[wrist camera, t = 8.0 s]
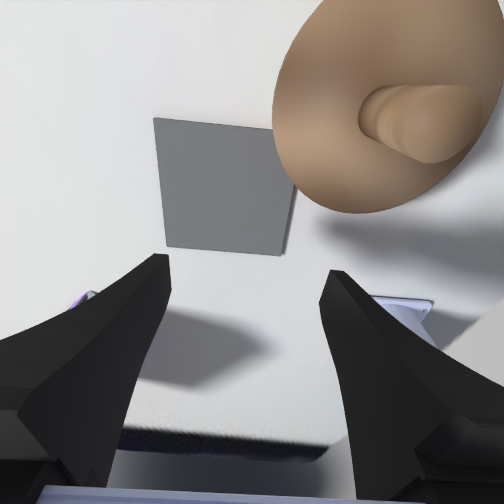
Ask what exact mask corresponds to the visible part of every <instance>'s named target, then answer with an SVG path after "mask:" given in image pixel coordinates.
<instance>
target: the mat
mask: <svg viewBox="0 0 504 504" xmlns="http://www.w3.org/2000/svg"><path fill="white" fill-rule="evenodd" d="M153 122H154V132H155V141H156V150H157V160H158V169H159V179H160V188H161V198H162V207H163V217H164V226H165V236H166V245H167V247H175V248H187V249H199V250H211V251H223V252H235V253H247V254H260V255H272V256H281V252H282V246H283V241H284V236H285V230H286V225H287V219H288V214H289V209H290V203H291V198H292V193H293V187H294V183H293V182H292V180H291V179H290V178H289V176H288V175H287V173H286V171H285V169H284V167H283V165H282V163H281V160H280V157H279V154H278V152H277V149H276V144H275V140H274V135H273V130H270V129H261V128H251V127H241V126H232V125H222V124H212V123H203V122H193V121H183V120H174V119H164V118H153Z"/></svg>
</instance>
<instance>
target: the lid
mask: <svg viewBox="0 0 504 504" xmlns="http://www.w3.org/2000/svg"><path fill="white" fill-rule="evenodd" d="M503 78H504V18H503V14H502V11H501V9H500V6H499V4H498V1H497V0H324V1H323V2H322V3H321V4H320V5H319V6H318V7H317V8H316V10H315V11H314V12H313V13H312V15H311V16H310V17H309V18H308V20H307V21H306V22H305V23H304V25H303V26H302V28H301V29H300V31H299V32H298V34H297V36H296V37H295V39H294V40H293V42H292V44H291V46H290V48H289V50H288V52H287V54H286V56H285V58H284V61H283V64H282V67H281V69H280V72H279V75H278V79H277V83H276V87H275V91H274V99H273V106H272V125H273V135H274V140H275V144H276V149H277V152H278V154H279V157H280V160H281V163H282V165H283V167H284V169H285V171H286V173H287V175H288V176H289V178H290V179H291V180H292V182H293V183H294V185H295V186H296V187H297V188H298V189H299V190H300V191H301V192H302V193H303V194H304V195H305V196H307V197H308V198H309V199H311V200H312V201H314V202H316V203H317V204H319V205H321V206H323V207H326V208H328V209H331V210H335V211H339V212H344V213H353V214H360V213H372V212H379V211H383V210H387V209H391V208H393V207H396V206H399V205H402V204H404V203H406V202H408V201H410V200H412V199H414V198H416V197H418V196H420V195H421V194H423V193H425V192H426V191H428V190H429V189H430V188H432V187H433V186H435V185H436V184H437V183H439V182H440V181H441V180H442V179H443V178H444V177H446V176H447V175H448V174H449V173H450V172H451V171H452V170H453V169H454V168H455V167H456V166H457V165H458V164H459V163H460V162H461V161H462V160H463V158H464V157H465V156H466V155H467V153H468V152H469V151H470V150H471V148H472V147H473V146H474V144H475V143H476V141H477V140H478V138H479V137H480V135H481V134H482V132H483V130H484V128H485V126H486V124H487V123H488V121H489V119H490V117H491V114H492V112H493V110H494V107H495V105H496V103H497V100H498V97H499V94H500V90H501V87H502V83H503Z"/></svg>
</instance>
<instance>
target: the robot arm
mask: <svg viewBox="0 0 504 504" xmlns="http://www.w3.org/2000/svg"><path fill="white" fill-rule="evenodd" d="M171 290H172V289H171V277H170V266H169V255H167V254H156V253H154V254H153V255H151V256H150V257H149V258H147V259H146V260H145V261H143V262H142V263H141V264H140V265H138V266H137V267H136V268H134V269H133V270H131V271H130V272H129V273H127V274H126V275H125V276H123V277H122V278H120V279H119V280H118V281H116V282H114V283H113V284H111V285H110V286H108V287H107V288H105V289H104V290H102V291H101V292H99V293H98V294H96V295H94V296H93V297H91V298H89V299H88V300H86V301H84V302H82V303H81V304H79V305H77V306H75V307H73V308H71V309H69V310H68V311H66V312H63V313H61V314H59V315H57V316H55V317H53V318H51V319H49V320H47V321H45V322H43V323H40V324H38V325H36V326H34V327H31V328H29V329H27V330H24V331H22V332H20V333H17V334H15V335H12V336H10V337H7V338H5V339H2V340H0V504H504V387H503V386H501V385H499V384H497V383H495V382H493V381H491V380H489V379H487V378H486V377H484V376H482V375H480V374H479V373H477V372H475V371H473V370H471V369H470V368H468V367H466V366H464V365H463V364H461V363H459V362H458V361H456V360H454V359H453V358H451V357H450V356H448V355H446V354H445V353H443V352H442V351H440V350H439V348H438V347H437V346H436V344H435V343H434V341H433V340H432V338H431V337H430V336H429V334H428V333H427V331H426V330H425V328H424V327H423V325H422V324H421V323H422V321H423V320H424V318H425V317H426V315H427V314H428V312H429V311H430V309H431V308H432V304H431V302H429V301H421V300H408V299H395V298H382V297H371V296H370V295H369V294H368V293H367V292H366V291H365V290H364V289H362V288H361V287H360V286H359V285H358V284H357V283H356V282H355V281H354V280H353V279H352V278H351V277H350V276H349V275H348V274H347V273H345V272H344V271H339V270H330V272H329V275H328V278H327V281H326V284H325V286H324V289H323V292H322V295H321V298H320V301H319V307H320V314H321V320H322V325H323V328H324V332H325V335H326V338H327V342H328V345H329V348H330V351H331V355H332V358H333V361H334V365H335V368H336V372H337V375H338V379H339V384H340V389H341V394H342V400H343V405H344V411H345V417H346V422H347V428H348V435H349V442H350V449H351V456H352V463H353V472H354V480H355V488H356V498H357V500H350V499H349V500H348V499H329V498H308V497H286V496H266V495H245V494H223V493H202V492H181V491H160V490H139V489H118V488H117V489H116V488H106V486H107V482H108V478H109V474H110V471H111V467H112V463H113V459H114V456H115V452H116V448H117V444H118V441H119V438H120V434H121V431H122V427H123V424H124V420H125V417H126V413H127V410H128V407H129V404H130V400H131V397H132V394H133V391H134V388H135V384H136V381H137V378H138V375H139V372H140V369H141V366H142V364H143V361H144V359H145V356H146V354H147V351H148V349H149V347H150V345H151V342H152V340H153V338H154V336H155V334H156V331H157V329H158V327H159V325H160V322H161V320H162V318H163V315H164V313H165V311H166V308H167V304H168V301H169V298H170V294H171Z"/></svg>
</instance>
